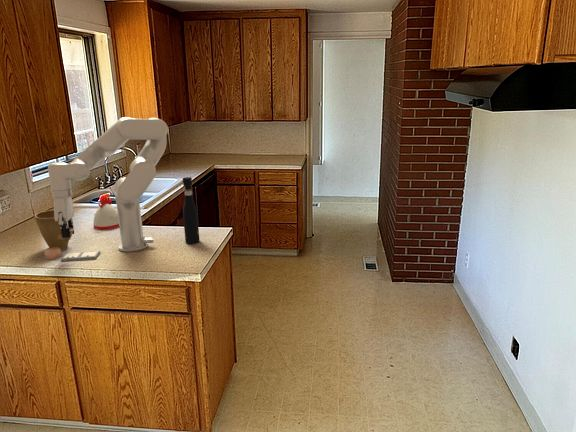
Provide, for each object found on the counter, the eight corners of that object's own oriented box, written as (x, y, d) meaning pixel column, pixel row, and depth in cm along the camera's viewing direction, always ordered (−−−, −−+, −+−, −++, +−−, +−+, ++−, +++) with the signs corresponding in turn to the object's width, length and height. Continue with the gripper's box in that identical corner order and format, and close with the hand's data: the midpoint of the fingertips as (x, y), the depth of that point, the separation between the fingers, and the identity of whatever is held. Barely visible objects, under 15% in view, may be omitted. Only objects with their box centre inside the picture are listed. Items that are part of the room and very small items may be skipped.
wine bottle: (184, 241, 210) (178, 177, 202) (198, 239, 213) (192, 176, 204) (187, 245, 204) (181, 179, 196) (201, 243, 207) (195, 178, 199)
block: (70, 238, 193) (74, 228, 192) (67, 242, 189) (71, 231, 188) (60, 235, 192) (64, 225, 191) (57, 238, 188) (61, 227, 187)
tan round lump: (63, 254, 197) (62, 246, 196) (58, 259, 192) (57, 251, 191) (48, 255, 197) (47, 247, 196) (43, 260, 191) (42, 252, 190)
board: (100, 253, 197) (100, 250, 197) (96, 258, 191) (95, 256, 190) (66, 255, 196) (66, 252, 195) (61, 261, 189) (60, 258, 189)
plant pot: (39, 254, 197) (32, 219, 192) (42, 244, 210) (36, 211, 206) (76, 249, 202) (71, 215, 198) (77, 240, 215) (72, 207, 211)
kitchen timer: (127, 223, 240) (124, 196, 236) (107, 231, 228) (103, 202, 224) (109, 220, 246) (105, 193, 242) (88, 227, 235) (83, 199, 231)
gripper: (59, 189, 193) (65, 230, 198) (44, 198, 177) (51, 242, 182) (78, 188, 194) (83, 229, 199) (64, 197, 178) (71, 241, 183)
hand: (68, 235), depth 190 cm, fingers closed on block, 3 cm apart
